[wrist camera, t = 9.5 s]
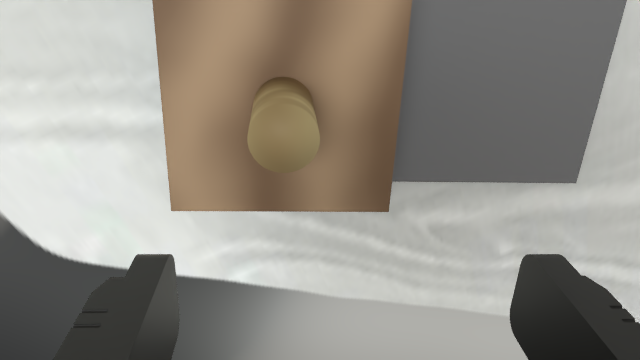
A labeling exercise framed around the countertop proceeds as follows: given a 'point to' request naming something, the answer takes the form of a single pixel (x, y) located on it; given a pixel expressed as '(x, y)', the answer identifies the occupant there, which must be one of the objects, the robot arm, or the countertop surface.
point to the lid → (281, 102)
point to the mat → (502, 88)
